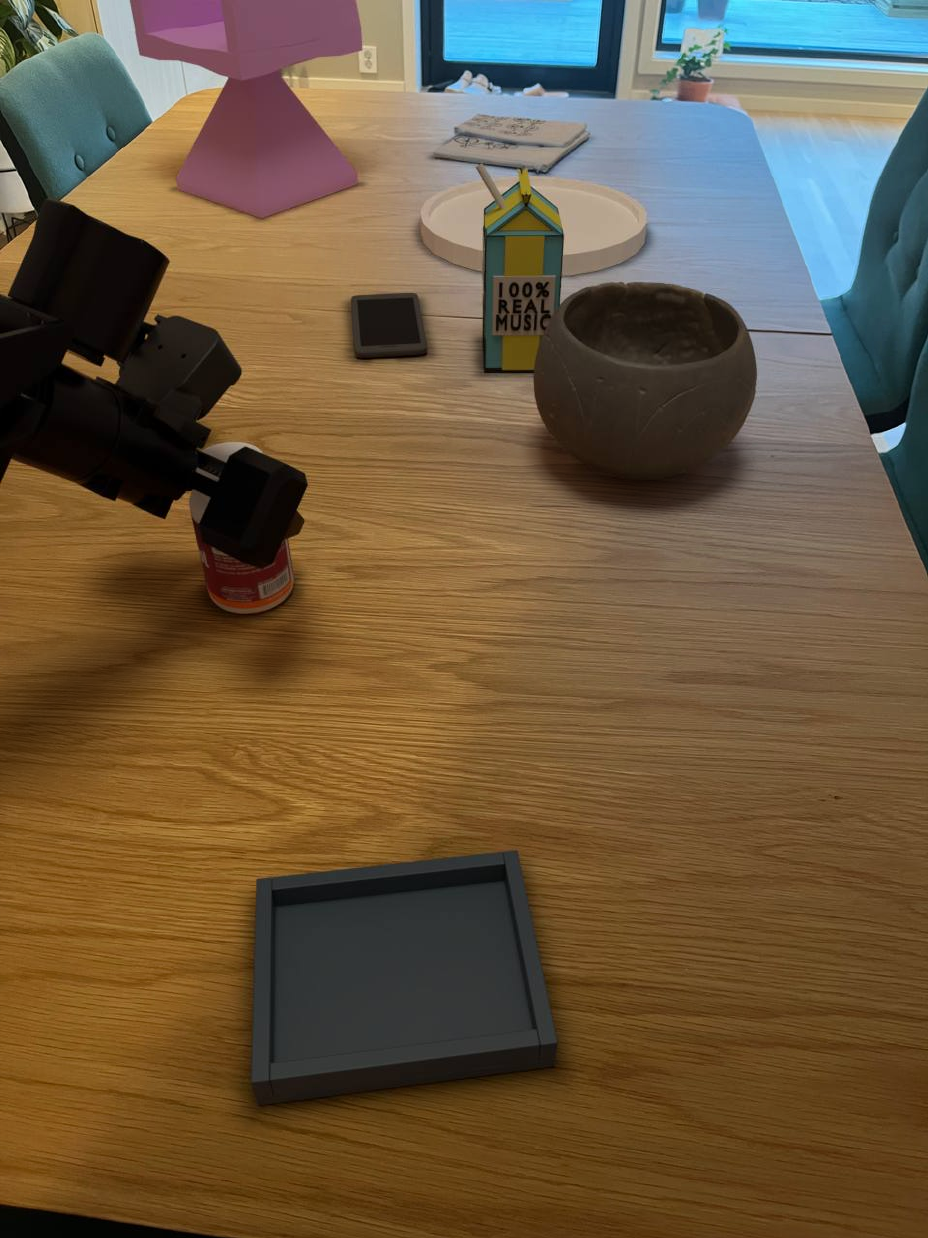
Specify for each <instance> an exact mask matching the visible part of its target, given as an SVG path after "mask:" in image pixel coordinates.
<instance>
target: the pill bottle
mask: <svg viewBox="0 0 928 1238" xmlns="http://www.w3.org/2000/svg"><path fill="white" fill-rule="evenodd" d="M245 446H247V447H249V448H251V449H253V450H256V451H258V452H260V453H263V454H264V452H263V451H262V449H260V448H259V447H258V446H255V445H253V444H250V443H248V442H240V441H238V442H237V441H228V442H221V443H216V444H212V445H210V446H208V447H206V448H203V449H201V451H202V452H204V453H206V454H209V455H211V456H213V457H215V458H217V459H220V460H222V461H224V462H227V460H228V458H229V455H231V454H233V453H234V452H236V451H238V450H240V449H241V448H243V447H245ZM196 472H198V473H200V474H202V475H204V476H207V477H209V478H211V479H213V480H215V481H217V482H218V480H219V478H218V477H216V476H214V475H212V474H210V473H208V472H206V471H203V470H201V469H199V468H197V470H196ZM210 498H211V497H208V496H206V495H204V494H202V493H200V492H198V491H196V490H194V489H193V490H192V491H190V495H189V498H188V499H189V500H188V507H189V512H190V517H191V521H192V526H193V531H194V535H195V540H196V545H197V548H198V554H199V558H200V562H201V567H202V571H203V575H204V580H205V585H206V589H207V593H208V594H209V597H210V599H211V600H212V602H213V603H215V605H216V606H218V607H219V608H221V609H222V610H225V611H226V612H229V613H233V614H241V615H242V614H243V615H244V614H246V615H248V614H257V613H262V612H265V611H268V610H271V609H272V608H273V609H274V608H275V607H276V606H278V605H280V604H282V602H284V601H285V600H286V599H287V598H288V597H289V596H290V594H291V592H292V590H293V588H294V584H295V583H294V581H295V578H294V569H293V562H292V555H291V549H290V548H291V547H290V541H289V538H288V539H286V540H283V542H282V544H281V546H280V549H279V551H278V553H277V555H276V557H275V560H274V562H273V564H272V565H269V566H267V567H265V568H263V569H260V568H257V567H254V566H251V565H248V564H245V563H242V562H240V561H238V560H236V559H235V558H233V557H231V556H229V555H227V554H225V553H223V552H221V551H219V550H217V549H215V548H213V547H211V546H209V545H207V544H205V543H203V542H202V538H201V533H200V528H199V522H200V520H201V518H202V516H203V514H204V511H205V509H206V507H207V505H208V502H209V500H210Z"/></svg>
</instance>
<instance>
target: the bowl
mask: <svg viewBox="0 0 928 1238" xmlns="http://www.w3.org/2000/svg"><path fill="white" fill-rule="evenodd" d="M757 380H758V368H757V359H756V353H755V348H754V344H753V341H752V338H751V335H750V332H749V330H748V327H747V325H746V323H745V321H744V320H743V318H742V316H741V315H740V314H739V312H738V311H737V310H736V309H735V308H734V307H733V305H731V304H730V303H729V302H727V301H726V300H724V299H722V298H720V297H718V296H716V295H713V294H710V293H708V292H706V293H704V292H702V291H701V290H698V289H694V288H690V287H686V286H682V285H680V284H674V283H666V282H665V283H664V282H649V281H647V282H644V281H633V282H632V281H631V282H626V284H625V282H623V281H618V282H615V281H609V282H603V283H600V284H598V285H591V286H586V287H583V288H581V289H579V290H577V291H575V292H574V293H572V294H570V295H568V296H567V297H566V298H564V300H563V301H562V302H560V305H559V307H558V308H557V309H556V311H555V312H554V314H553V315H552V317H551V319H550V321H549V323H548V325H547V327H546V329H545V331H544V334H543V336H542V339H541V341H540V344H539V347H538V350H537V354H536V359H535V365H534V372H533V393H534V394H533V395H534V398H535V404H536V408H537V411H538V414H539V416H540V419H541V421H542V423H543V425H544V426H545V428H546V430H547V431H548V433H549V435H550V436H551V437H552V438H553V440H554V441H555V442H556V443H557V445H559V447H560V448H562V449H563V450H564V451H565V452H566V453H567V454H568V455H569V456H571V457H572V458H573V459H575V460H576V461H577V462H579V463H581V464H582V465H584V466H586V467H588V468H590V469H592V470H594V471H596V472H599V473H601V474H604V475H607V476H610V477H614V478H618V479H624V480H636V481H639V480H640V481H642V480H643V481H645V480H647V481H649V480H657V479H658V480H659V479H663V478H668V477H672V476H676V475H678V474H682V473H685V472H687V471H690V470H693V469H695V468H698V467H699V466H701V465H703V464H704V463H706V462H708V461H710V460H712V459H713V458H714V457H716V456H717V455H718V454H720V452H722V451H723V450H724V449H725V448H726V447H727V446H728V445H729V444H730V443H731V442H732V441H733V440H734V439H735V438H736V437H737V435H738V434H739V432H740V431H741V429H742V428H743V426H744V424H745V423H746V420H747V418H748V415H749V413H750V412H751V408H752V406H753V403H754V401H755V397H756V393H757V389H756V388H757Z"/></svg>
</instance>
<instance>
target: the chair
mask: <svg viewBox="0 0 928 1238" xmlns="http://www.w3.org/2000/svg"><path fill="white" fill-rule="evenodd" d="M129 4H130V9H131V16H132V20H133V25H134V33H135V38H136V44H137V48H138V49H137V50H138V54H139V56H141V57H145V58H149V59H153V60H157V61H178V62H183V63H187V64H191V65H195V66H197V67H198V66H199V67H201V68H203V69H205V70H207V71H210V72H212V73H215V74H216V75H219V76H222V77H226V78H227V80H226V82H225V84H224V86H223V87H222V89H221V91H220V93H219V95H218V97H217V99H216V100H215V103H214V105H213V107H212V108H211V110H210V112H209V114H208V116H207V117H206V120H205V122H204V124H203V125H202V127H201V129H200V131H199V133H198V135H197V137H196V139H195V141H194V142H193V144H192V147H191V148H190V150H189V152H188V154H187V156H186V157H185V160H184V162H183V163H182V165H181V167H180V169H179V171H178V172H177V175H176V176H175V182H176V187H177V190H178V191H181V192H184V193H187V194H190V195H193V196H195V197H199V198H201V199H204V200H208V201H211V202H213V203H216V204H219V205H222V206H225V207H228V208H231V209H234V210H236V211H238V212H242V213H245V214H248V215H251V216H254V217H257V218H260V219H264V218H267V217H270V216H272V215H275V214H278V213H281V212H284V211H287V210H289V209H292V208H295V207H298V206H301V205H303V204H307V203H310V202H312V201H315V200H317V199H320V198H323V197H327V196H329V195H332V194H334V193H337V192H340V191H343V190H346V189H348V188H349V189H350V188H351V187H354V186H358V185H359V180H358V179H359V178H358V172H357V170H356V169H355V168H354V167H353V165H352V164H351V162H349V161H348V159H347V158H346V156H345V155H344V154H343V153H342V152H341V151H340V149H339V148H338V147H337V145H336V144H335V143H334V141H333V140H332V139H331V138H330V137H329V136H328V134H327V133H326V132H325V130H324V129H323V128H322V127H321V125H320V124H319V122H317V120H316V119H315V117H314V116H313V115H312V114H311V112H309V110H308V109H307V107H306V106H305V105H304V104H303V102H302V101H301V100H300V98H299V97H298V96H297V95H296V93H295V92H294V91H293V90H292V88H291V87H290V86H289V85H288V84H287V82H286V81H285V80H284V78H283V77H282V71H281V69H285V68H287V67H291V66H294V65H297V64H301V63H305V62H308V61H310V60H314V59H317V58H330V57H342V56H346V55H351V54H354V53H357V52H362V51H363V35H362V25H361V20H360V13H359V8H358V3H357V0H129Z"/></svg>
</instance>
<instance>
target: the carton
mask: <svg viewBox="0 0 928 1238" xmlns="http://www.w3.org/2000/svg"><path fill="white" fill-rule="evenodd" d="M516 168H517V174H518V176H519V182H517V183H516V184H515V185H514V186H512V187H511V188H510V189H509V190H507V191H506V192H505V193H503V194H502V195H501V194H500V192H499V191H498V189H497V187H496V186H495V184H494V182H493V181H492V177H491V175H490V173H489V172H488V171H487V169H486V167H485V165H484V163H479V165H477V166H476V167H475V169H476V172H477V173H478V175H479V176H480V178H481V180H483V181H484V183H485V184H486V186H487V188H488V189H489V191H490V193H491V195H492V196H493V198H494V200H495V201H493V202H492V203H491V204H489V205H488V206H487V207H486V208H484V226H483V259H482V272H481V273H482V279H481V280H482V334H481V335H482V340H481V341H482V357H483V373H484V374H485V373H486V374H487V373H488V374H489V373H490V374H491V373H493V374H494V373H498V374H499V373H500V374H501V373H503V374H504V373H505V374H506V373H511V374H512V373H513V374H514V373H515V374H516V373H534V365H535V359H536V354H537V350H538V347H539V344H540V341H541V339H542V336H543V334H544V331H545V329H546V327H547V325H548V323H549V321H550V319H551V317H552V315H553V314H554V312H555V311H556V309H557V308H558V307H559V305H560V304H561V293H562V277H563V276H562V262H563V246H564V233H563V228H562V224H561V220H560V215H559V211H558V208H557V207H556V206H555V205H553V204H552V203H551V202H550V201H549V200H547V199H546V198H545V197H544V196H542V195H541V194H540V193H539V192H538V191H536V190H535V189H534V188H533V187H531V186H530V181H529V176H530V175H529V170H527V168H526V169H525V170H523V169H521V168H518V167H516Z"/></svg>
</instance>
